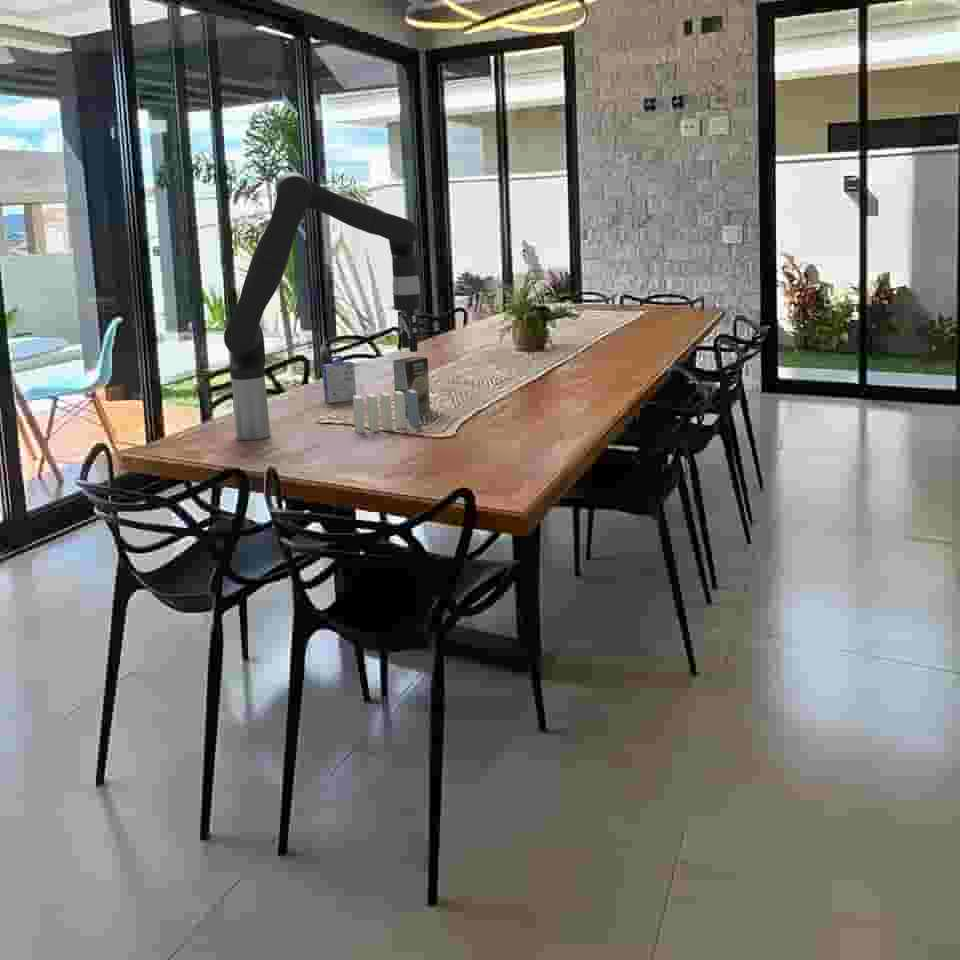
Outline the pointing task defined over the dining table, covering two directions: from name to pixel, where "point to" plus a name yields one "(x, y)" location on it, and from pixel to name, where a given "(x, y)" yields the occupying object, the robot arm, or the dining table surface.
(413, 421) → the end domino
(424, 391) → the coffee box
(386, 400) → the domino
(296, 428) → the dining table surface
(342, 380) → the ink cartridge box
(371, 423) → the domino
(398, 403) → the domino
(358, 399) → the domino
